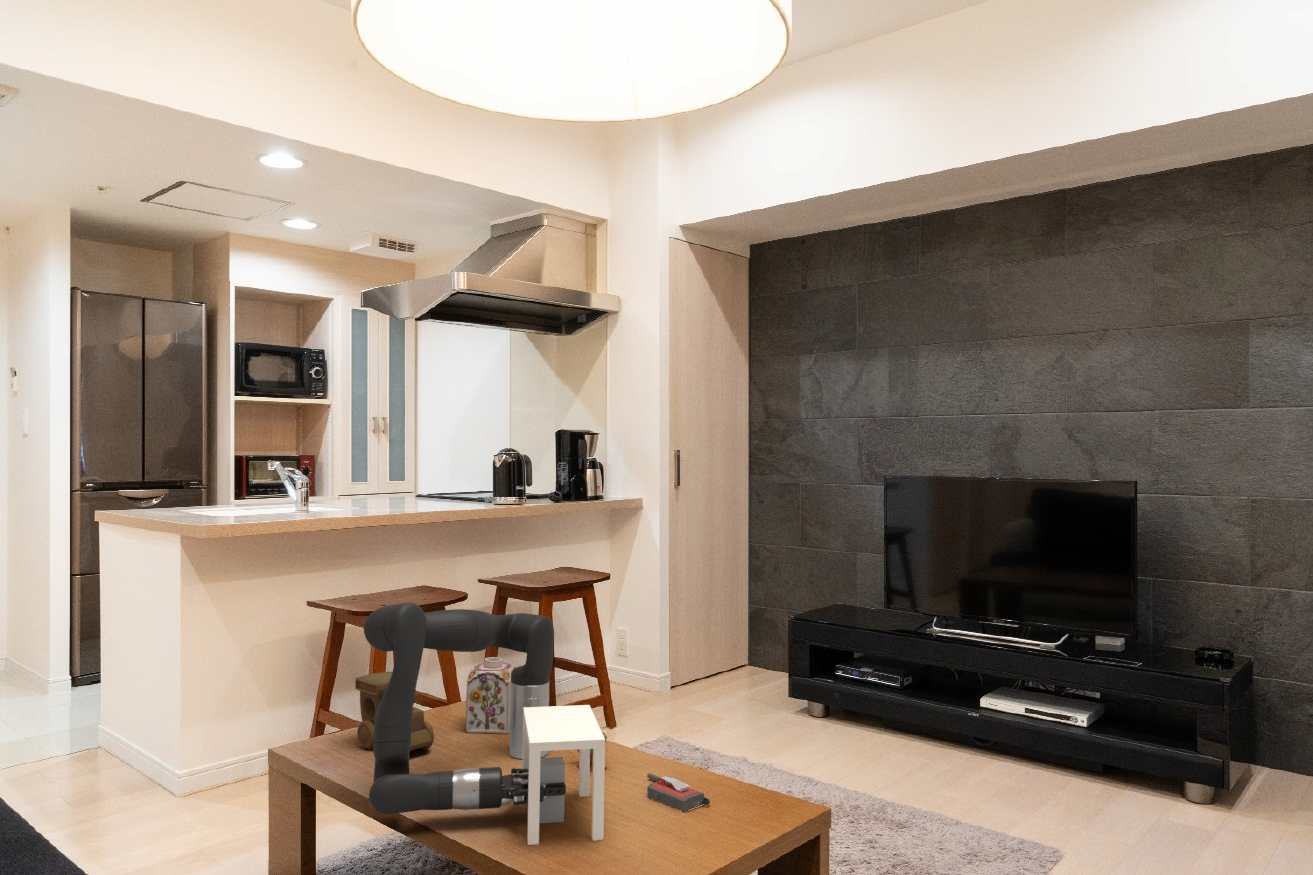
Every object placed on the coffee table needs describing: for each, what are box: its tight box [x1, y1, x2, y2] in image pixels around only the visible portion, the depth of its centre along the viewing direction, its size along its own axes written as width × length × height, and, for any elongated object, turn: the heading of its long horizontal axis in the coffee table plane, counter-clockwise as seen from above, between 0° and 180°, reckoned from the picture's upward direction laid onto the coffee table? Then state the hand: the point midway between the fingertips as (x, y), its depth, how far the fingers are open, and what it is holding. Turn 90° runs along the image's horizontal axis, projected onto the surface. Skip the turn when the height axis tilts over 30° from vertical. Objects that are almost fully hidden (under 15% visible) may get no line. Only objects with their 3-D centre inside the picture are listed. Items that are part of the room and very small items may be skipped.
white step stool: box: [521, 704, 606, 846], centre depth 179 cm, size 14×24×19 cm, turn 11°
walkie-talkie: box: [646, 772, 711, 812], centre depth 191 cm, size 9×4×20 cm
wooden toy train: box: [354, 671, 435, 751], centre depth 219 cm, size 20×11×17 cm, turn 50°
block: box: [539, 756, 566, 824], centre depth 179 cm, size 5×5×11 cm
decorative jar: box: [465, 656, 516, 735], centre depth 238 cm, size 12×12×18 cm
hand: (563, 783), depth 179 cm, fingers closed on block, 5 cm apart
